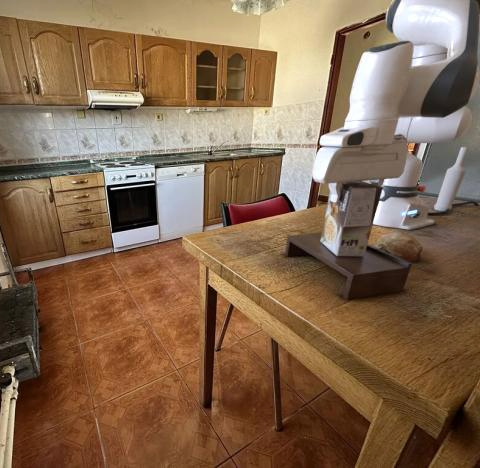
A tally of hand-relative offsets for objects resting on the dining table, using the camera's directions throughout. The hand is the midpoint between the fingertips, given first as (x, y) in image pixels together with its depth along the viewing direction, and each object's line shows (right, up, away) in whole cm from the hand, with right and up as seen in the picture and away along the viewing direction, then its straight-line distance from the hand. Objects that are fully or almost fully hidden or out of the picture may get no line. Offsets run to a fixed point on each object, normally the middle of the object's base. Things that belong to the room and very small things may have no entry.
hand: (351, 200), depth 59 cm
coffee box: (0, -11, +5) cm, 12 cm away
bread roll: (+22, -14, +14) cm, 30 cm away
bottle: (+73, +2, +49) cm, 88 cm away
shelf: (+1, -17, +7) cm, 18 cm away
